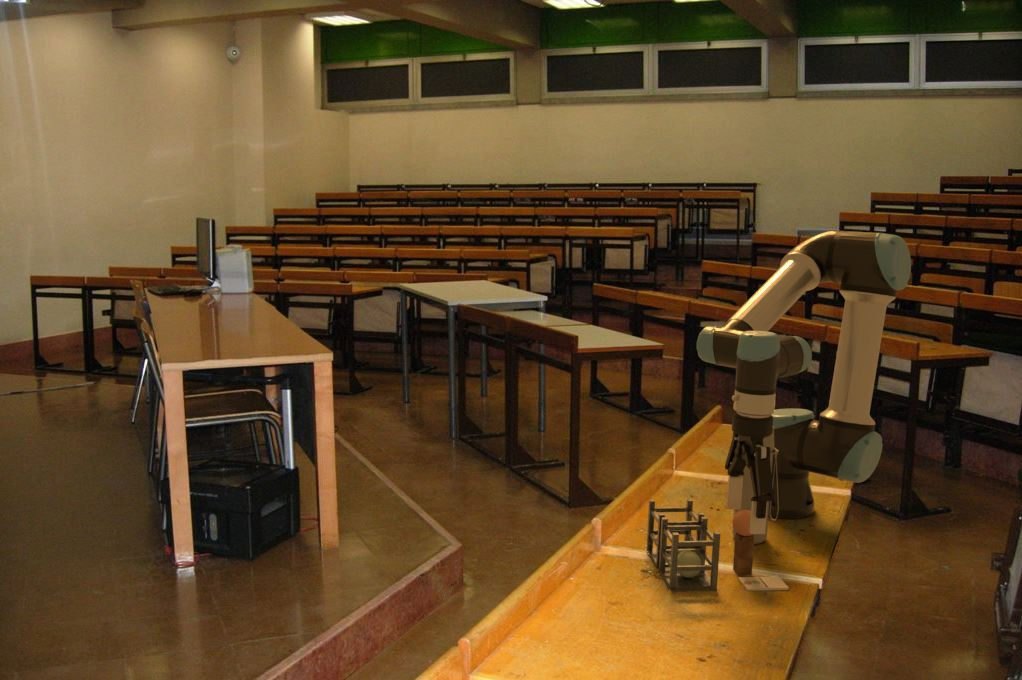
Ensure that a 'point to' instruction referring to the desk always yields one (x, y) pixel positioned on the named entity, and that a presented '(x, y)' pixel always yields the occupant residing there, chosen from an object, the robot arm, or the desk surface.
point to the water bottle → (748, 492)
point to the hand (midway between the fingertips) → (744, 520)
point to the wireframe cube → (651, 533)
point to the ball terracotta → (742, 522)
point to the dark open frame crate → (702, 578)
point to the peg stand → (743, 554)
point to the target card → (763, 583)
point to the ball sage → (688, 563)
